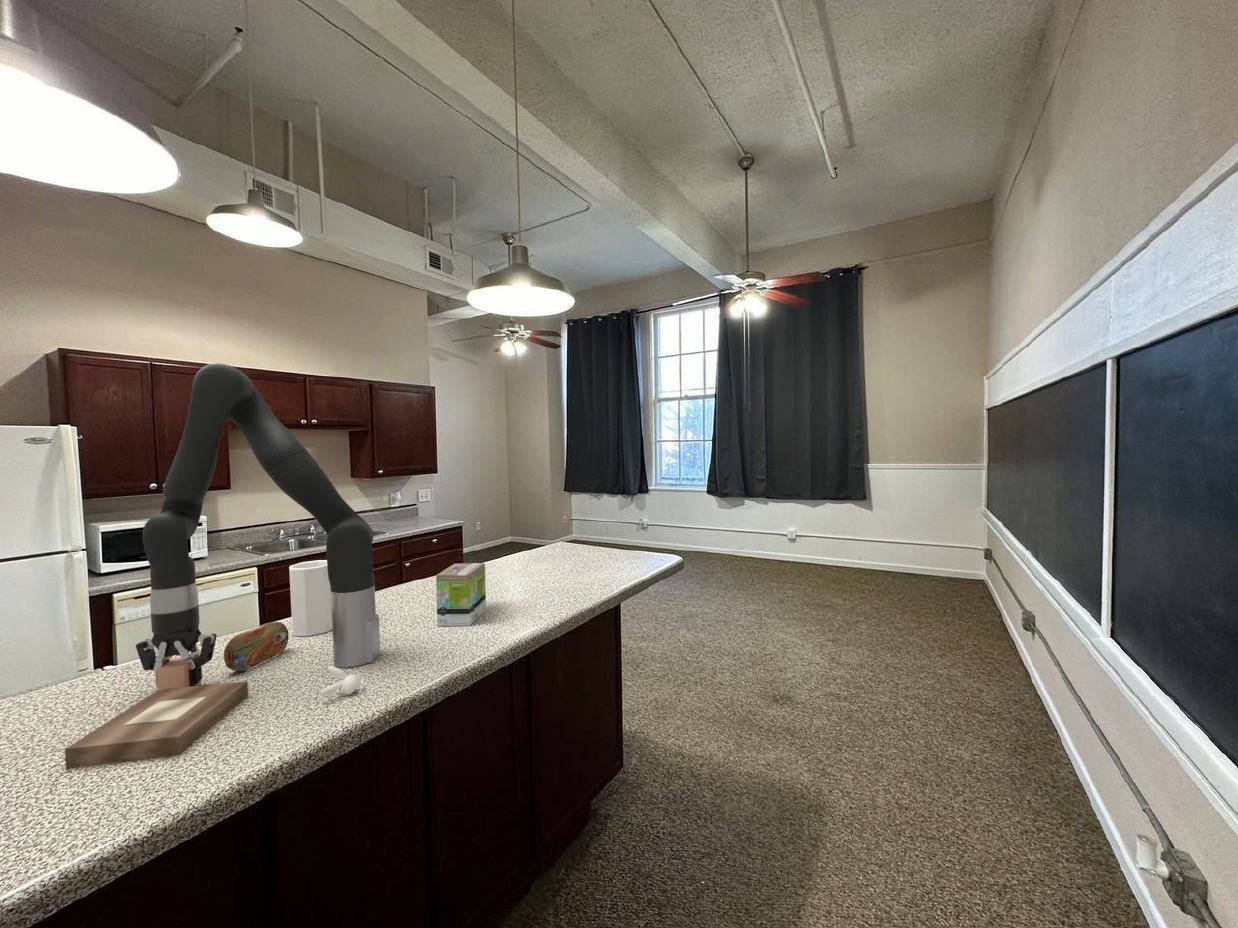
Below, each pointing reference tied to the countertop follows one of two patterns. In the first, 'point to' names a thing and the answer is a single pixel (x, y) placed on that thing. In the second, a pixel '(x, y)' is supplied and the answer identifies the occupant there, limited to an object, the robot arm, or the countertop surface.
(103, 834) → the countertop surface
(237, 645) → the tin
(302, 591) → the cup
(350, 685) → the rabbit figurine
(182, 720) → the plinth
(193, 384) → the robot arm
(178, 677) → the block
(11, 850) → the countertop surface
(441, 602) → the tea box
